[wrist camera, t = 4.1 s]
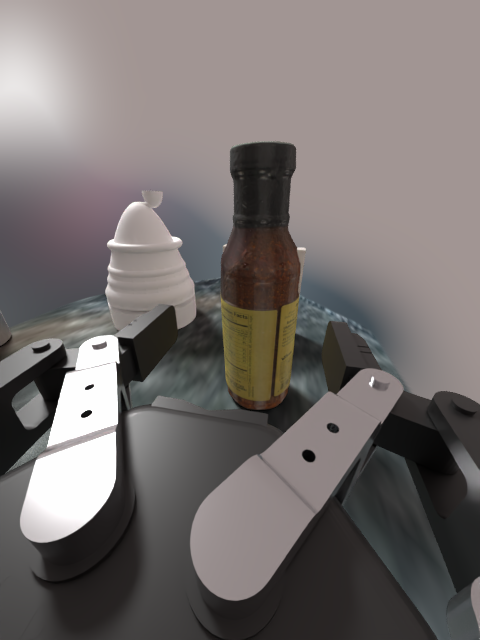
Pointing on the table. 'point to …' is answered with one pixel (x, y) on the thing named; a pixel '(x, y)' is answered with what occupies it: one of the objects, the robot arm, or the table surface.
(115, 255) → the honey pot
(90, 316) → the table surface
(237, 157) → the sauce bottle
